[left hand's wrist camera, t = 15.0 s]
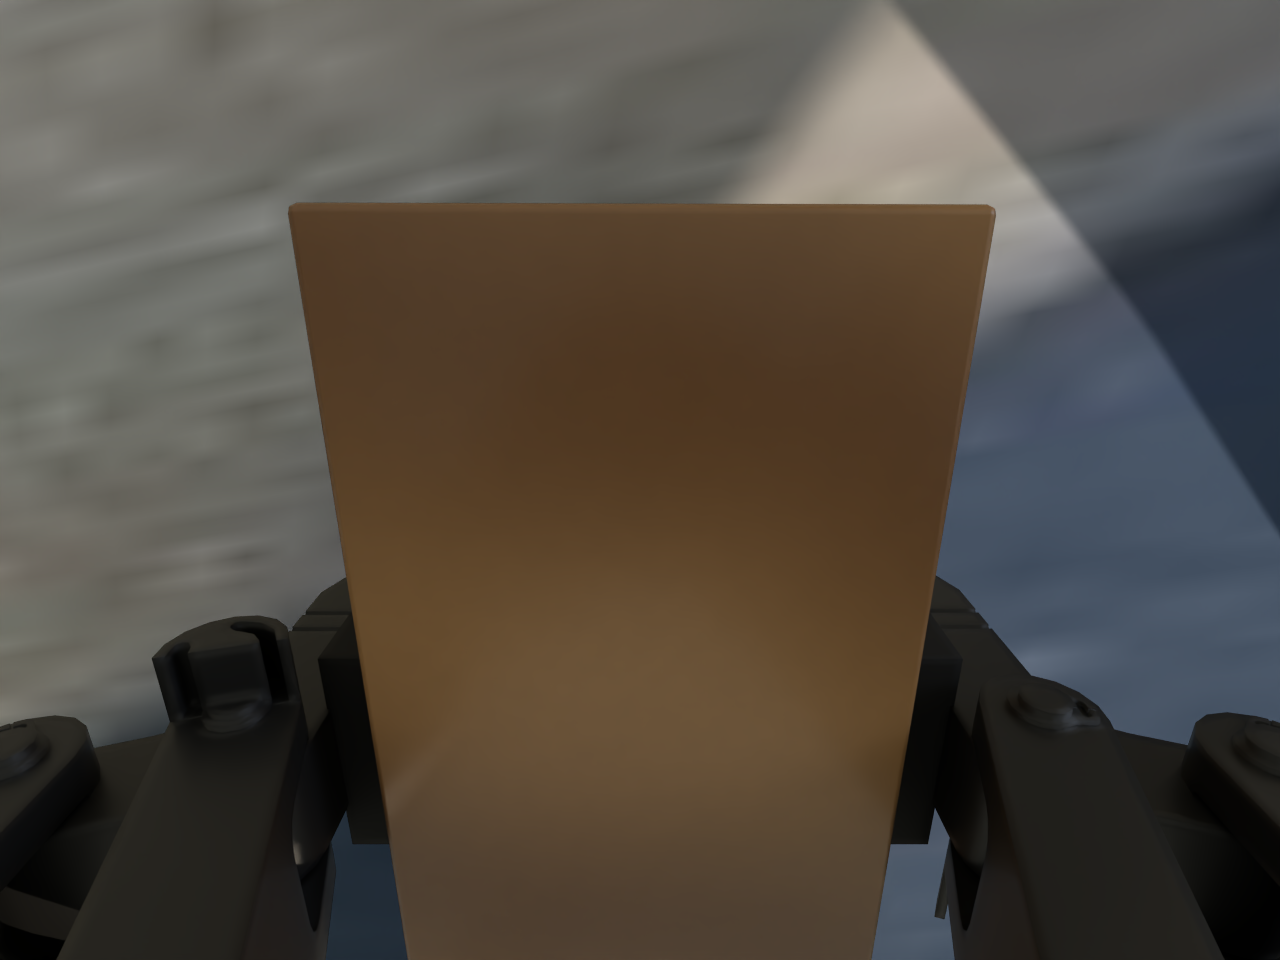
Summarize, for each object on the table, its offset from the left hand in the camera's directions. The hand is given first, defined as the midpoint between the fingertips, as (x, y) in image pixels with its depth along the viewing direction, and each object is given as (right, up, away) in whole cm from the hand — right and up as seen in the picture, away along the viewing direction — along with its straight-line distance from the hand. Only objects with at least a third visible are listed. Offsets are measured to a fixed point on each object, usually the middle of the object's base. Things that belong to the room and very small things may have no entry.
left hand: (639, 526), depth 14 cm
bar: (0, -26, +10) cm, 28 cm away
